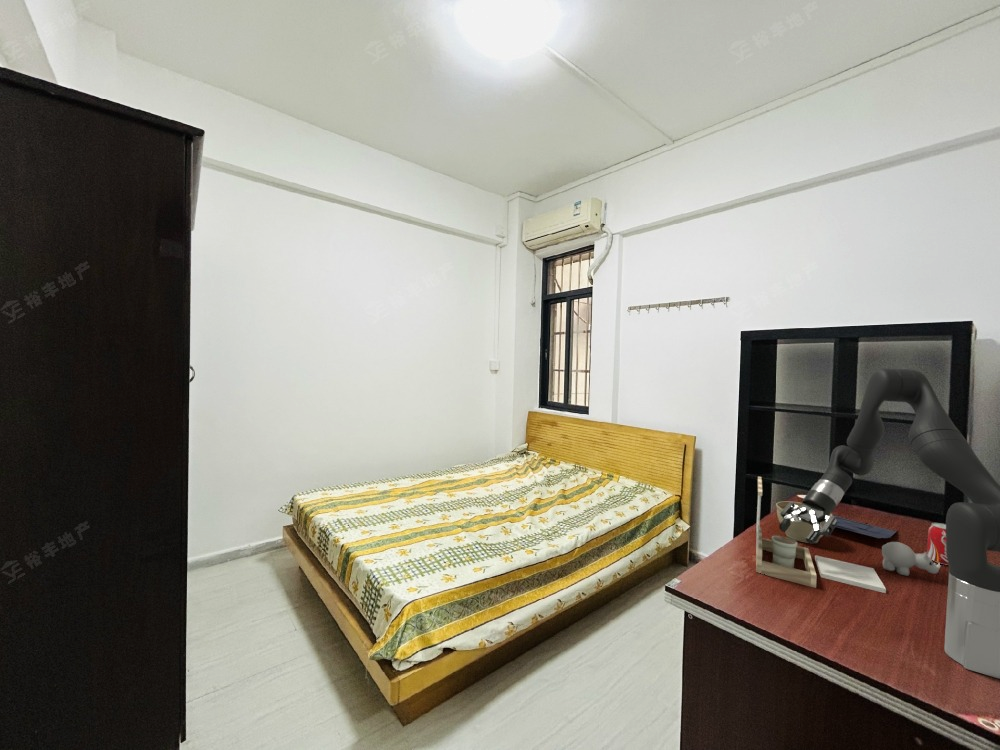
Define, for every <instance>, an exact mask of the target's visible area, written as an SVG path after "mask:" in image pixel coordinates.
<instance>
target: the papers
mask: <svg viewBox="0 0 1000 750" xmlns="http://www.w3.org/2000/svg"><path fill="white" fill-rule="evenodd" d="M834 515H835V514H832V516H834ZM838 516H839V515H835V516H834V518H835V519H836V520H837V522H838V523H837V525H836V526H835V528H839V529H842V530H846V531H850V532H852V533H853V532H854V533H856V534H857V533H858V534H860V535H865V536H869V537H873V538H876V539H881V538H883V539H888V538H892V536H893V535H894V534H895V533H897V532H898V531H893V530H889V529H885V528H886V527H885V528H881V527H882V526H881V527H877V526H878V525H877V526H873V525H874V524H873V525H869V524H870V523H868V524H864V523H865V522H864V523H860V522H861V521H860V522H856V521H857V520H856V521H852V520H853V519H852V520H849V519H850V518H848V519H845V518H846V517H843V518H841V517H842V516H839V517H838Z"/></svg>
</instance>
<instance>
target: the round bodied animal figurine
mask: <svg viewBox="0 0 1000 750" xmlns="http://www.w3.org/2000/svg"><path fill="white" fill-rule="evenodd" d="M881 555H882V557H883V559H882V568H883V569H884V570H886V571H890V572H894V571H896V573H897V574H899V575H902V576H906V577H907V576H909V575H910V568H912V567H914V566H915V567H917V568H919V569H922V570H926V572H927V573H929V574H938V573H939V570H940V568H941V567H942V565H940V563H938V564H937V563H935V562H933V561H932V560H931V559H930V557H928V556H927V551H924V552H923V553H915V552H914V550H913V549H912V548H911V547H910V546H908V545H906V544H905V543H902V542H898V541H890V542H887V543H886V544H883V545H882V546H881Z"/></svg>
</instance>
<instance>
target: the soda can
mask: <svg viewBox="0 0 1000 750" xmlns="http://www.w3.org/2000/svg"><path fill="white" fill-rule="evenodd" d="M926 545H927V546H926V549H927V550H926V552H927V556H928V557H930V559H931V560H933V561H935V562H937V563H941V564H945V565H949V563H948V559H947V554H946V523H939V522H931V525H930V526H929V527H928V532H927V544H926ZM933 561H932V562H933ZM935 562H934V563H935ZM937 563H936V564H937Z"/></svg>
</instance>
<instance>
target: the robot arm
mask: <svg viewBox="0 0 1000 750" xmlns="http://www.w3.org/2000/svg"><path fill="white" fill-rule="evenodd" d="M865 387H866V388H865V390H864V394H863V398H862V401H861V406H860V409H859V412H858V417H857V420H856V421H855V424H854V426H853V427H852V429H851V431H850V432H849V435H848V437H847V438H846V444H847V445H838V446H836V447H835V448H834V449H832V452H831V454H830V459H829V463H828V466H827V468H826V470H825V472H824V473H823V475H821V477H820V479H819V480H818V481H817V482H815V483H814V485H812V487H811V489H809V491H808V493H807V494H806V495H805V497H804V498H803V500H802V502H801V503H802V504H801V505H799V506H797V505H795V504H794V503H793V502H794V501H790V503H789V504H788V505H787V506H786V507H785V508H784V509H783V511H782V512H781V513H780V515H781V516H782V517H783V519H784V520H783V521H782V522H781V524H779V525H778V527H779V530H780V531H781V532H782V533H785V531H786V530H787V529H788V527H789V526H790V525H791V524H790V523H793V522H800V521H803V522H806V523H809V524H810V525H813V526H814V530H812V531H811V532H810V534H809V535H808V536H807V538H806V540H807V542H808V543H807V544H809V545H812V544H815V543H814V542H816V540H817V539H818V537H819V536H821V535H823V536H825V537H827V538H828V537H830V536H831V535H832V533H833V531H834V530H835V528H836V527H835V526H836V525H837V523H838V522H837V520H836V519H835V518H834V516H830V517H829V515H830V514H832V513H833V512H834V511H835V509H836V507H838V505H839V503H840V502H841V500H842V499H843V496H844V495H845V494H846V492H847V491H848V489H849V488H850V486H851V485H852V483H853V479H852V477H851V476H850V475H849V474H848V473H847V472H846V471H848V472H849V473H852V474H854V475H857V476H867V475H869V473H871V471H872V469H873V467H874V463H875V462H874V461H875V460H874V459H875V458H874V457H875V451H876V448H877V447H878V446H879V443H880V442H881V440H882V439H883V437H884V434H885V425H884V421H883V420H882V417H881V414H880V407H881V406H882V404H883V403H884V402H896V403H907V404H908V405H910V407H912V409H913V411H914V414H915V418H914V419H913V422H912V424H911V425H910V428H909V431H908V440H909V444H910V445H911V448H912V449H913V450H914V452H915V454H916V456H917V457H918V458H919V460H920V462H921V463H922V464H923V465H924V466H925V467H926V468H928V469H929V470H930V471H931V472H932V473H935V475H937V476H939V478H941V479H943V480H945V481H946V482H948V483H949V484H951V485H952V486H954V487H955V488H957V489H958V490H959V491H960V492H962V493H963V494H964V495H965V496H966V497H968V499H969V500H970V501H971V502H964V501H963V502H962V501H961V502H960V501H959V502H955V503H953V504H951V505H950V507H949V508H948V510H947V512H946V516H945V517H946V518H945V524H946V554H947V559H948V563H949V566H948V582H947V583H948V586H947V596H946V597H947V598H946V599H947V601H946V613H945V615H946V616H945V633H944V647H943V648H944V649H943V650H944V652H945V654H946V655H947V656H948V657H950V658H951V659H952V660H953V661H955V662H957V663H958V664H959V665H962V666H963V668H964V669H966V670H969V671H972V672H975V673H980V674H983V675H985V676H989V677H992V678H995V679H1000V566H998V565H996V564H993V563H991V562H989V559H988V554H987V552H988V551H990V552H997V553H998V552H999V553H1000V484H999V483H998V482H997V480H996V479H995V478H994V477H993V476H992V474H991V473H990V472H989V470H988V469H987V468H986V466H985V465H984V464H983V463H982V462H981V460H980V459H979V457H978V456H977V455H976V453H975V452H974V450H973V449H972V447H971V445H970V444H969V442H968V440H966V438H965V437H964V435H963V434H962V433H961V431H960V430H959V429H958V428H957V426H956V425H955V424H954V422H953V421H952V419H951V418H950V416H949V415H948V413H947V412H946V410H945V409H944V407H943V406H942V404H941V402H940V400H939V398H938V395H937V394H936V392H935V390H934V388H933V387H932V385H931V382H930V381H929V379H928V378H927V377H926V375H925V374H924V373H923V372H921V371H919V370H916V369H909V368H907V369H905V368H904V369H903V368H879V369H876V370H875V371H874V372H873V373H872V374H871V375H870V377H869V380H868V382H867V384H866V386H865ZM844 470H845V471H844ZM796 510H797V511H796ZM796 515H798V517H796ZM790 518H792V519H790ZM823 521H826V523H825V524H824V526H823V528H822V527H821V522H823Z"/></svg>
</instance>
